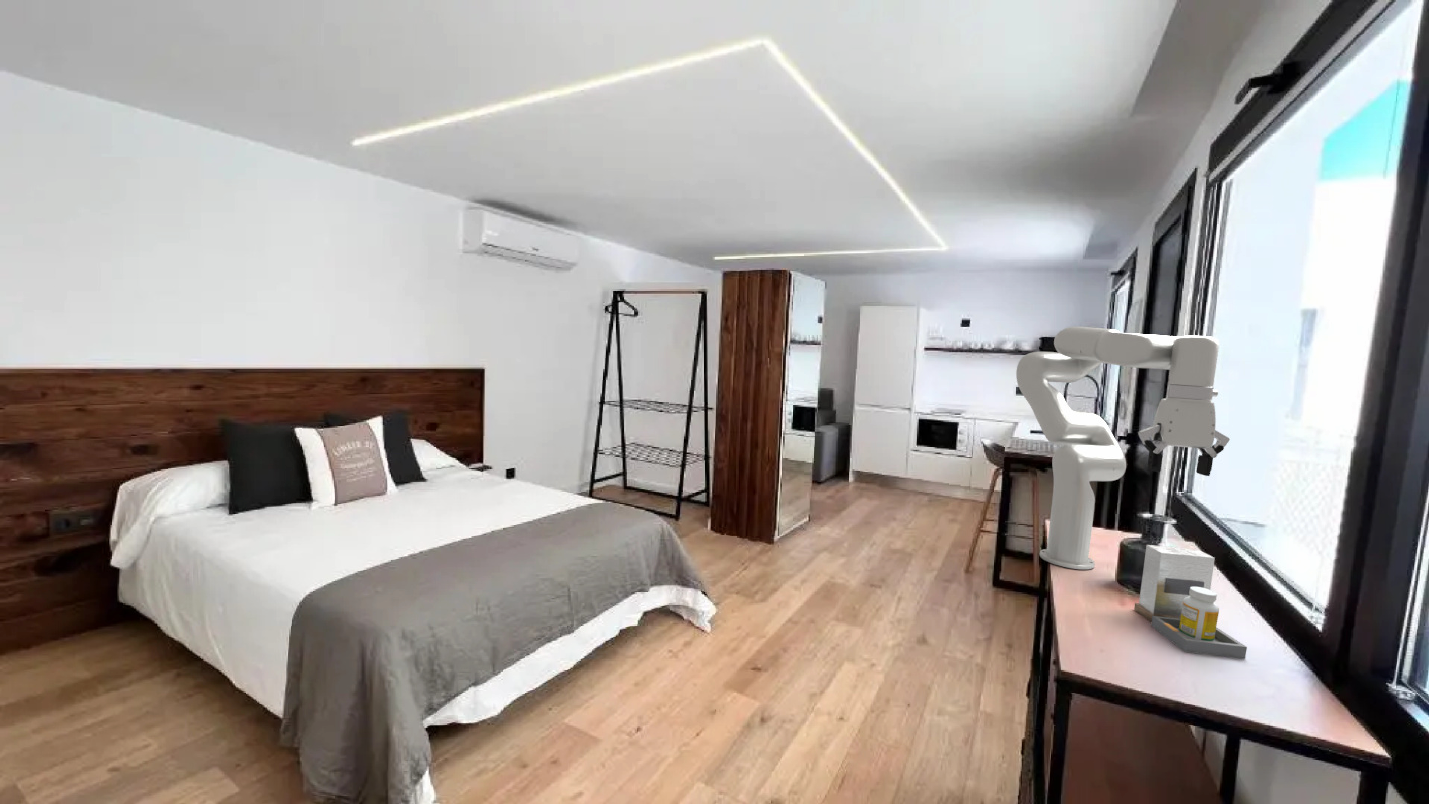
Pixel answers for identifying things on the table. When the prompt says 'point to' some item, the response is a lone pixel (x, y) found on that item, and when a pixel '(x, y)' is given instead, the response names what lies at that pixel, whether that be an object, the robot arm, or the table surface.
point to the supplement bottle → (1199, 615)
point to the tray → (1220, 646)
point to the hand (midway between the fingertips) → (1178, 472)
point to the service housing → (1171, 579)
